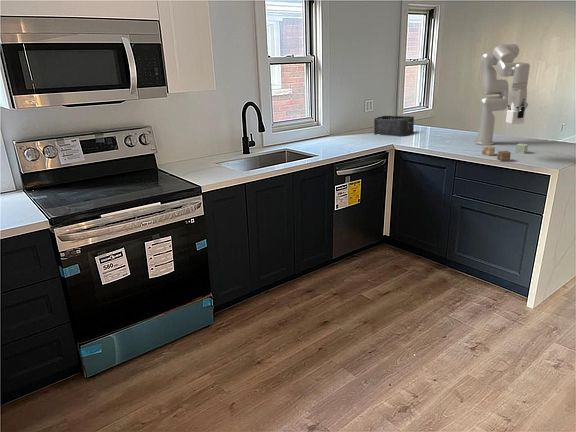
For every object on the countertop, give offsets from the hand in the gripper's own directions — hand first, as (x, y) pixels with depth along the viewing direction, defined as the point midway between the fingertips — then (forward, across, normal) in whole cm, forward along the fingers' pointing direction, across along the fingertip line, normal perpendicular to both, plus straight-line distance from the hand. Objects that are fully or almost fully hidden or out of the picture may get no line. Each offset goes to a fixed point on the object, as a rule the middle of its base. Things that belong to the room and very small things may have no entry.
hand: (515, 116), depth 247 cm
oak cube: (+24, -10, -8) cm, 27 cm away
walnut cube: (+24, +6, -9) cm, 26 cm away
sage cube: (+24, -7, +13) cm, 28 cm away
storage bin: (+25, -106, -28) cm, 112 cm away
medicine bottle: (+4, 0, 0) cm, 4 cm away
